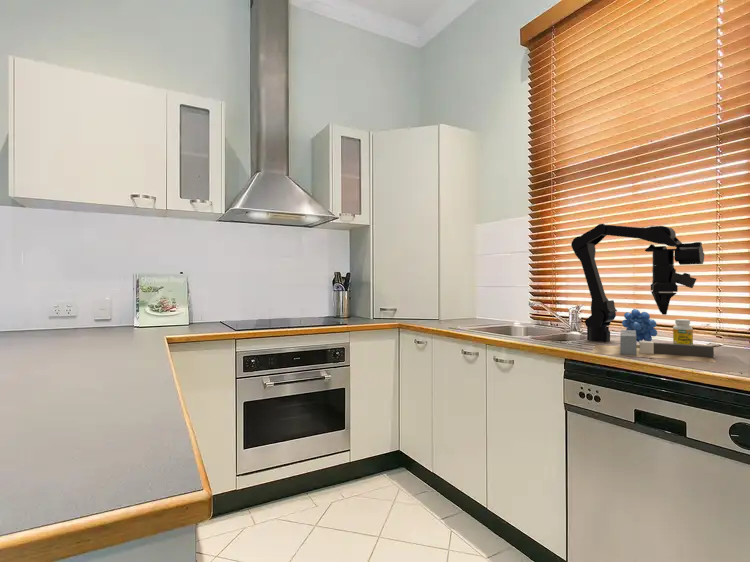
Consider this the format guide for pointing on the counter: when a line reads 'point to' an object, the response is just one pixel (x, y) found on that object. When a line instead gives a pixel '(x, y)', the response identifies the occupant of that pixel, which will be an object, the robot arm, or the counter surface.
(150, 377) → the counter surface
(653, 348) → the grey and white bar
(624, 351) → the grey boxy piece
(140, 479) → the counter surface
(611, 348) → the mounting board
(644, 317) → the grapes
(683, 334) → the supplement bottle
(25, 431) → the counter surface
